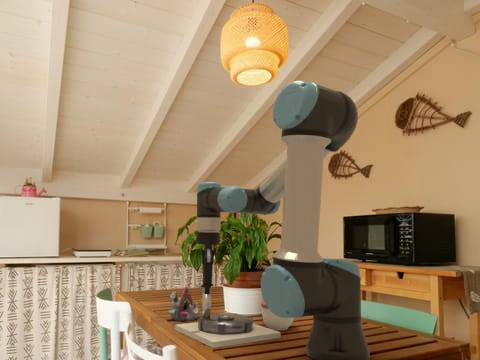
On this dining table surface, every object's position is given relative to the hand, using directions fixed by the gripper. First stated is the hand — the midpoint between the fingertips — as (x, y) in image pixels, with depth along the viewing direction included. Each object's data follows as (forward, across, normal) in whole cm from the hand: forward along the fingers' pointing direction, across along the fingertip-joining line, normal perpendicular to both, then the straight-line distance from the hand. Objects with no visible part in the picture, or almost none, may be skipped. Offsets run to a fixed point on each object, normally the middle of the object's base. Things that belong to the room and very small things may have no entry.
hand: (206, 308), depth 127 cm
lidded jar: (+7, 0, +23) cm, 24 cm away
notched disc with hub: (+4, +5, +6) cm, 9 cm away
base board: (+6, +5, +6) cm, 10 cm away
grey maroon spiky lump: (+7, -17, -7) cm, 20 cm away
